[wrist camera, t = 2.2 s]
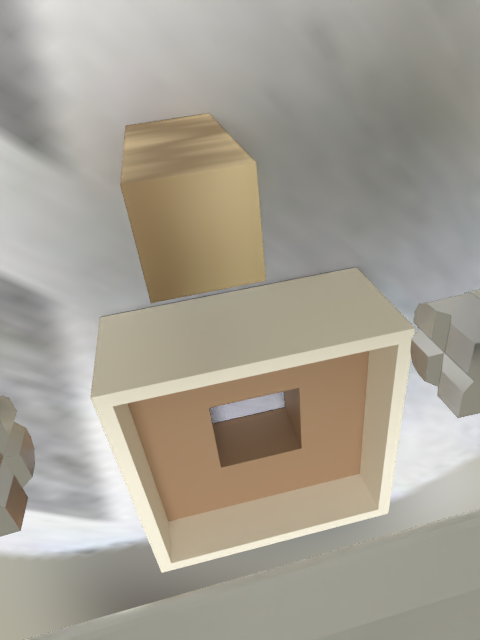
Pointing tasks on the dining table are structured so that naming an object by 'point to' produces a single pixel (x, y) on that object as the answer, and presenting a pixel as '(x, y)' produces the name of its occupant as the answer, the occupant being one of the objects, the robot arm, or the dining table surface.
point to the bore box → (259, 429)
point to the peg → (192, 207)
